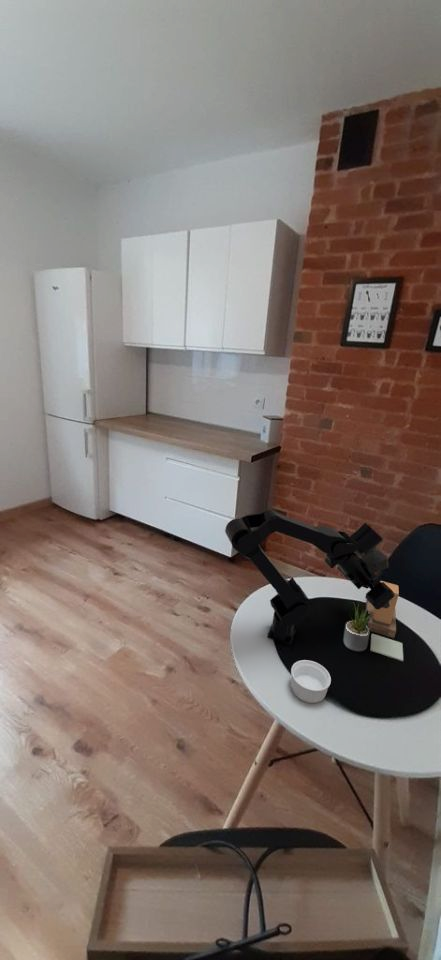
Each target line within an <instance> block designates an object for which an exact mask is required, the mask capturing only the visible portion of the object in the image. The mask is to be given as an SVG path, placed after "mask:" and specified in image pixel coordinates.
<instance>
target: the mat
mask: <svg viewBox="0 0 441 960" xmlns="http://www.w3.org/2000/svg"><path fill="white" fill-rule="evenodd" d="M370 652H374V653H377V654H380V655H383V656H386V657H388V658H391V659H395V660H398V661H400V662H404V648H403V642H400V641H397V640H394V639H390V638H389V637H386V636H381V635H379V634H374V633H371V636H370Z"/></svg>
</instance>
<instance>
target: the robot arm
mask: <svg viewBox="0 0 441 960" xmlns="http://www.w3.org/2000/svg"><path fill="white" fill-rule="evenodd" d="M253 528H256V529H254V530H252V529H253ZM224 532H225V534H226V536H227V538H228V540H229V542H230V544H231V546H232V548H233V549H234V550H235V551H236V552H238V553H239V554H240V555H242V556H243V557H244V558H247V559H249V560H250V562H252V564H253V565H254V566H255V567H256V569H257V570H258V571H259V572H260V573H261V574H262V575H263V577H264V578H265V579H266V580H267V582H268V583H269V584H270V585H271V586H272V588H273V589H274V591H275V592H276V593H277V594H275V595H274V596H273V597H272V598H271V599H270V600H269V602H270V606H271V608H272V609H273V611H274V612H273V617H272V621H271V622H272V623H271V625H270V628H269V630H268V633H267V634H266V635H267V636H266V637H267V638H268V639H271V640H274V641H277V642H280V643H282V642H283V643H282V644H285V643H286V645H288V646H290V645H292V643H293V642H292V641H293V639H294V636H295V633H296V629H295V628H294V626H299V625H300V623H301V622H302V620H303V618H304V617H305V615H306V613H307V612H308V609H309V608H310V604H309V602H308V601H310V599H309V597H308V596H307V595H306V593H305V591H304V590H303V589H302V587H301V586H300V585H299V584H298V583H297V582H296V580H295V579H294V577H290V579H289V580H288V579H287V578H285V577H284V576H283V574H282V573H281V572H280V571H279V569H278V568H277V566H276V565H275V564H274V562H272V561H271V559H270V558H269V557H268V556H267V553H266V552H264V551H263V549H262V548H261V545H260V544H261V543H263V542H264V541H265V540H266V539H267V538H268V537H269V536H271V534H274V533H276V532H277V533H280V534H281V535H285V536H287V537H290V538H292V539H293V538H294V539H296V540H299V541H302V542H305V543H308V544H311V545H312V546H314V547H316V548H317V549H318V550H320V551H321V552H323V553H325V554H326V557H325V558H324V562H325V563H326V564H327V566H328V567H329V568H330V569H334V568H335V567H336V566H337V568H336V569H337V570H338V571H339V572H340V573H341V574H342V575H343V576H344V577H345V578H346V579H347V580H348V581H350V582H351V583H352V584H353V585H354V586H355V588H356V589H357V590H361V588H364V589H367V590H368V589H370V590H368V591H367V592H366V593H365V596H364V597H365V599H366V601H367V600H368V601H369V602H370V603H371V605H372V606H373V607H374V608H375V609H380V608H381V607H382V608H388V607H389V606H390V604H389V601H390V600H391V599H392V598H393V597H394V596H395V593H394V592H393V591H392V590H391V589H390V588H389V587H388V586H387V585H386V584H385V583H384V582H385V581H384V582H380V581H379V582H378V583H377V582H376V581H375V580H374V579H375V578H376V577H377V574H376V573H379V572H381V571H383V570H385V569H389V561H388V557H387V555H385V553H384V552H382V551H381V550H379V549H377V547H378V546H380V545H381V544H382V543H383V542H384V539H383V537H382V536H381V535H380V534H378V532H376V531H375V530H374V529H373V528H372V527H371V526H370V525H369V524H368V523H366V522H364V523H362V525H361V526H360V527H359V528H358V529H357V530H356V531H355V532H353V533H352V534H351V535H349V534H348V533H347V532H346V531H344V530H343V531H341V530H336V529H335V528H334V527H331V526H324V525H319V526H314V525H310V524H308V523H307V522H302V521H300V520H298V519H294V518H292V517H289V516H286V515H285V514H281V513H278V512H276V511H275V510H274V509H267V510H266V509H265V510H264V511H262V512H260V513H259V512H258V513H252V514H245V515H244V516H242V517H240V518H234V519H231V520H230V521H229V522H227V524H226V526H225V529H224ZM357 553H358V554H359V555H362V556H361V557H360V556H359V555H358V554H357Z"/></svg>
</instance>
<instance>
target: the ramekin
mask: <svg viewBox="0 0 441 960" xmlns="http://www.w3.org/2000/svg"><path fill="white" fill-rule="evenodd" d="M290 675H291V677H290V686H291V690H292V692H293V693H294V695H295V696H296V697H297V698H298V699H300V700H302V701H304V702H306V703H311V704H315V703H319V702H321V701H323V700H324V699H325V697H326V695H327V692H328V690H329V688H330V685H331V682H332V678H331V675H330V672H329V671H328V670H327V669H326V667H324V666H323V665H322V664H320V663H318V662H316V661H313V660H307V659H303V660H297V661H296V662H294V663H293V664H292V665H291V668H290Z"/></svg>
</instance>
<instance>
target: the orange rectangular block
mask: <svg viewBox="0 0 441 960" xmlns="http://www.w3.org/2000/svg"><path fill="white" fill-rule="evenodd" d="M379 582H384V583H385V584H386V585H387V586H388V587H389V588H390V589H391V590H392V591H393V592H394V593H395V596H394V597H393V598H392V599H391V600H390V601H389V604H390V606H389V607H388V608H382V607H381V608H380V609H375V608H373V621H376V622H380V623H383V624H386V625H388V624H391V620H392V617H393V613H394V610H395V611H396V606H397V602H398V598H399V595H400V594H399V593H400V591H399V585H397V584H394V583H390V582H386V581H383V580H380V581H379Z"/></svg>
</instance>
